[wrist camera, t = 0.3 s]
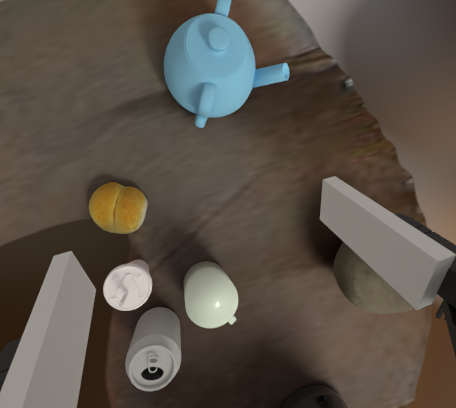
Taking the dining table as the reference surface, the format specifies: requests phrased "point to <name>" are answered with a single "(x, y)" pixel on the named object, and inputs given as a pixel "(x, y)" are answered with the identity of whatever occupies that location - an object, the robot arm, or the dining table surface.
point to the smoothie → (128, 285)
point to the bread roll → (118, 208)
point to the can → (154, 350)
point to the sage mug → (209, 295)
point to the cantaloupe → (365, 285)
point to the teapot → (214, 65)
